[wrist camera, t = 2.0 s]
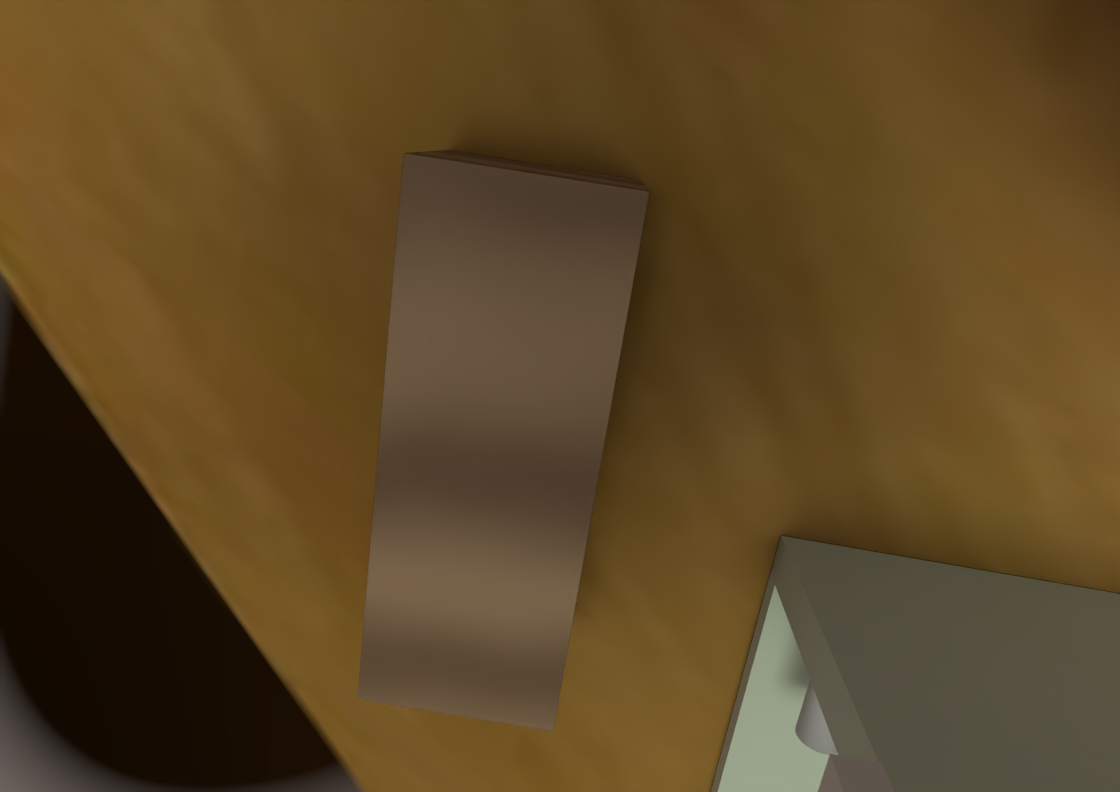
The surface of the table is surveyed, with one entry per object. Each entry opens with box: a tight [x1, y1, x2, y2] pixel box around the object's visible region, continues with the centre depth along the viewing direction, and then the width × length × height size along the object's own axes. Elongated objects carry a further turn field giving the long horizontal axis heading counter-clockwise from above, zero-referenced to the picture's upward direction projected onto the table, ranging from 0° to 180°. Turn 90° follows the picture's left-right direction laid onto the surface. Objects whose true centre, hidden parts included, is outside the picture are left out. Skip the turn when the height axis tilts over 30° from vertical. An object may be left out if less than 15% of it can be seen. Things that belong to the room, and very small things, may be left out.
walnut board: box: [357, 150, 649, 731], centre depth 25 cm, size 16×6×6 cm, turn 171°
